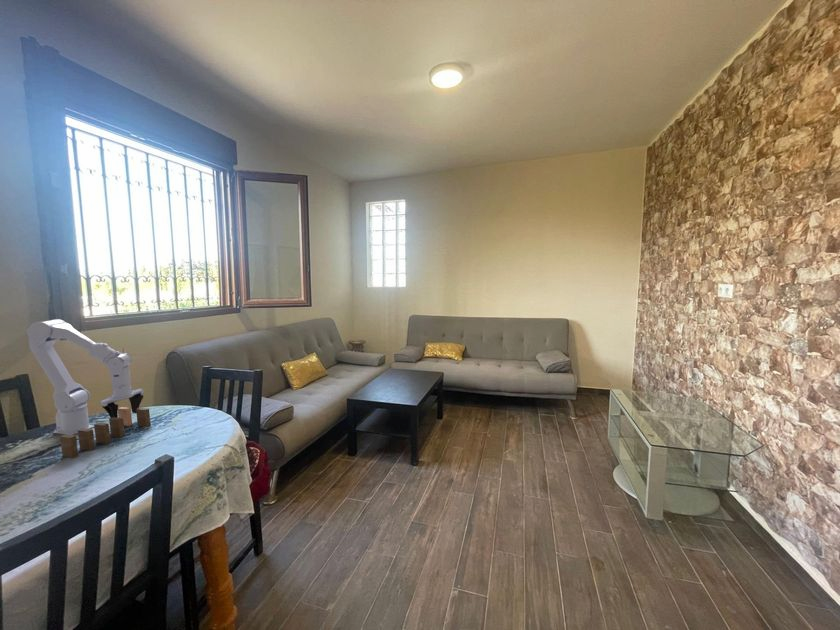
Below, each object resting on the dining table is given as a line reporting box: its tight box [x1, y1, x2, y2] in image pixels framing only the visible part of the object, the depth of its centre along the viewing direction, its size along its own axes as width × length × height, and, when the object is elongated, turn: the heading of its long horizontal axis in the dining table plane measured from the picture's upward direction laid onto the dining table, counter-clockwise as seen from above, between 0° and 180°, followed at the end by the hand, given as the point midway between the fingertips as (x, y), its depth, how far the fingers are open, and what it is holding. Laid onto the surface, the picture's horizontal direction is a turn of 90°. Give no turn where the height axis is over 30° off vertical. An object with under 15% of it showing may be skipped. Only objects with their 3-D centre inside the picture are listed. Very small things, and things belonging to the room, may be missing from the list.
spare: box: [117, 406, 133, 427], centre depth 136 cm, size 2×5×7 cm, turn 77°
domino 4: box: [108, 417, 126, 439], centre depth 126 cm, size 2×5×7 cm, turn 77°
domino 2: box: [77, 428, 96, 452], centre depth 117 cm, size 2×5×7 cm, turn 76°
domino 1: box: [59, 434, 79, 459], centre depth 112 cm, size 2×5×7 cm, turn 76°
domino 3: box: [93, 422, 112, 445], centre depth 121 cm, size 2×5×7 cm, turn 77°
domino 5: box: [135, 407, 151, 428], centre depth 135 cm, size 2×5×7 cm, turn 76°
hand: (125, 416), depth 136 cm, fingers open, 7 cm apart
